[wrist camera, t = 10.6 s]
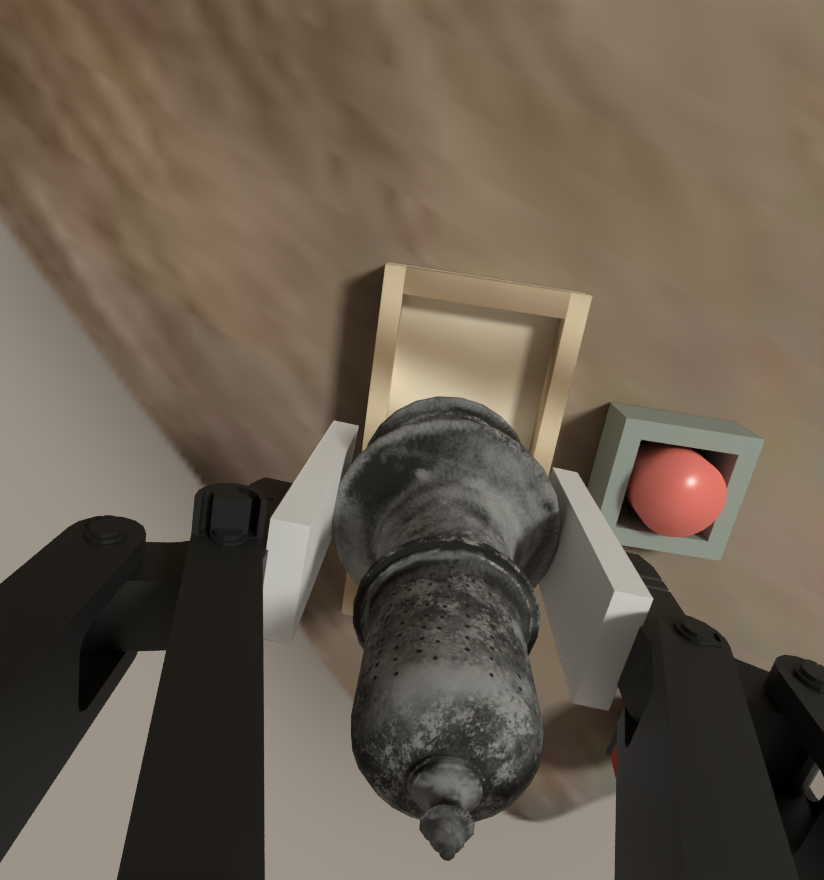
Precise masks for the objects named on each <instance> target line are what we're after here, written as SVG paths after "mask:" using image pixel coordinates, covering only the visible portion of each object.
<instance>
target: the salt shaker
mask: <svg viewBox="0 0 824 880" xmlns="http://www.w3.org/2000/svg"><path fill="white" fill-rule="evenodd" d="M560 525H561V520H560V514H559V508H558V501H557V495H556V493H555V491H554V489H553V487H552V485H551V483H550V480H549V478H548V476H547V474H546V472H545V470H544V468H543V467H542V466H541V465H540V463H539V462H538V461H537V460H536V459H535V458H534V457H533V456H532V455H531V453H530V452H529V451H528V450H527V449H526V448H525V447H524V446H523V445H522V443H521V441H520V439H519V437H518V435H517V433H516V432H515V431H514V430H513V428H512V427H511V426H510V425H509V424H508V423H507V422H506V421H505V420H504V418H503V417H502V416H500V415H499V414H497V413H496V412H494V411H492V410H491V409H489V408H488V407H486V406H485V405H483V404H480V403H477V402H474V401H471V400H468V399H465V398H461V397H444V396H437V397H432V398H427V399H422V400H417V401H415V402H413V403H411V404H408V405H406V406H404V407H402V408H400V409H398V410H396V411H395V412H394V413H393V414H392V415H391V416H389V417H388V418H387V419H386V420H385V421H384V422H383V423H381V424H380V425H379V427H378V428H377V430H376V432H375V433H374V435H373V436H372V438H371V439H370V441H369V442H368V445H367V448H366V449H365V450H364V451H362V452H361V453H360V454H359V455H358V456H357V457H356V458H355V460H354V461H353V463H352V464H351V466H350V467H349V469H348V470H347V472H346V473H345V475H344V477H343V478H342V480H341V481H340V484H339V488H338V492H337V497H336V502H335V507H334V513H333V520H332V535H333V539H334V542H335V546H336V549H337V553H338V556H339V559H340V562H341V563H342V565H343V567H344V568H345V570H346V571H347V573H348V575H349V576H350V578H351V579H352V581H353V583H354V584H355V585H356V586H357V587H358V590H357V593H356V596H355V599H354V602H353V625H354V628H355V632H356V635H357V638H358V641H359V644H360V645H361V647H362V649H363V650H364V653H363V658H362V663H361V668H360V673H359V678H358V683H357V688H356V693H355V698H354V703H353V708H352V714H351V739H352V750H353V754H354V757H355V760H356V763H357V765H358V768H359V770H360V771H361V773H362V774H363V775H364V777H365V778H366V780H367V781H368V783H369V784H370V785H371V787H372V788H373V789H374V791H375V792H376V793H377V795H378V796H379V797H380V798H382V799H383V800H384V801H385V802H386V803H388V804H389V805H390V806H391V807H392V808H394V809H396V810H398V811H400V812H402V813H404V814H406V815H408V816H410V817H412V818H416V819H419V820H420V831H421V832H422V834H423V835H424V837H425V838H426V839H427V840H428V841H429V842H430V844H431V846H432V847H433V849H434V850H435V851H437V852H439V854H440V856H441V858H443V859H444V860H446V861H449V860H451V859H453V858H454V856H455V854H456V853H457V852H459V851H460V850H461V849H462V848H463V847H464V843H465V842H466V841H467V840H468V839H469V838H470V837H471V836H472V835H473V834H474V824H475V822H477V821H480V820H483V819H486V818H489V817H492V816H494V815H496V814H498V813H500V812H501V811H503V810H505V809H506V808H508V807H510V806H511V805H512V804H513V803H514V802H515V801H516V800H517V799H518V798H519V797H520V796H521V795H522V794H523V792H524V791H525V790H526V788H527V787H528V786H529V785H530V783H531V782H532V780H533V778H534V776H535V774H536V772H537V770H538V768H539V766H540V762H541V755H542V748H543V736H544V728H543V723H542V718H541V713H540V708H539V703H538V699H537V694H536V689H535V684H534V680H533V675H532V670H531V666H530V661H529V654H530V652H531V650H532V648H533V646H534V643H535V641H536V639H537V637H538V630H539V622H540V612H539V607H538V601H537V596H536V592H535V591H534V588H535V587H536V586H537V584H538V583H539V582H540V581H541V579H542V578H543V577H544V576H545V575H546V573H547V571H548V569H549V566H550V564H551V562H552V560H553V557H554V555H555V553H556V551H557V547H558V539H559V532H560Z"/></svg>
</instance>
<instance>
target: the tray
mask: <svg viewBox="0 0 824 880" xmlns="http://www.w3.org/2000/svg"><path fill="white" fill-rule="evenodd" d="M591 299H592V296H590V295H587V294H584V293H581V292H576V291H570V290H563V289H557V288H551V287H544V286H538V285H531V284H525V283H518V282H512V281H506V280H499V279H493V278H486V277H480V276H473V275H467V274H461V273H454V272H448V271H441V270H435V269H429V268H422V267H416V266H409V265H403V264H396V263H387V264H385V272H384V280H383V288H382V296H381V304H380V312H379V320H378V328H377V335H376V343H375V351H374V359H373V367H372V375H371V383H370V391H369V399H368V407H367V415H366V423H365V430H364V438H363V446H362V451H364V450H365V449H366V448H367V445H368V442H369V441H370V439H371V438H372V436H373V435H374V433H375V432H376V430H377V428H378V427H379V425H380V424H381V423H383V422H384V421H385V420H386V419H387V418H388V417H389V416H391V415H392V414H393V413H394V412H395V411H396V410H398V409H400V408H402V407H404V406H406V405H408V404H411V403H413V402H415V401H417V400H422V399H427V398H432V397H437V396H444V397H461V398H465V399H468V400H471V401H474V402H477V403H480V404H483V405H485V406H486V407H488V408H489V409H491V410H492V411H494V412H496V413H497V414H499V415H500V416H502V417H503V418H504V420H505V421H506V422H507V423H508V424H509V425H510V426H511V427H512V428H513V430H514V431H515V432H516V433H517V435H518V437H519V439H520V441H521V443H522V445H523V446H524V447H525V448H526V449H527V450H528V451H529V452H530V453H531V455H532V456H533V457H534V458H535V459H536V460H537V461H538V462H539V463H540V465H541V466H542V467H543V468H544V470H545V472H546V474H547V476H549V472H550V468H551V464H552V460H553V455H554V451H555V447H556V443H557V439H558V435H559V431H560V427H561V423H562V418H563V414H564V410H565V406H566V402H567V398H568V394H569V390H570V386H571V381H572V377H573V373H574V369H575V365H576V361H577V357H578V353H579V349H580V344H581V340H582V336H583V332H584V328H585V324H586V320H587V316H588V312H589V308H590V303H591ZM357 590H358V587H357V586H356V585H355V584H354V583H353V581H352V579H351V578H350V576H349V575H348V573H346V581H345V589H344V597H343V605H342V612H341V614H345V615H352V616H353V602H354V599H355V596H356V593H357Z"/></svg>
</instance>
